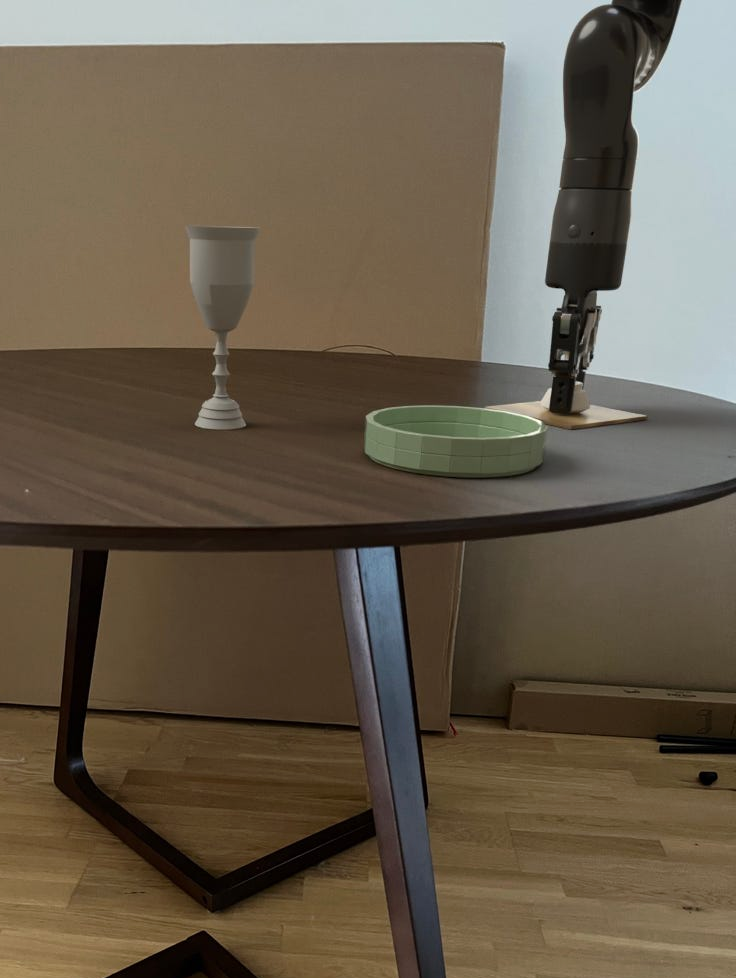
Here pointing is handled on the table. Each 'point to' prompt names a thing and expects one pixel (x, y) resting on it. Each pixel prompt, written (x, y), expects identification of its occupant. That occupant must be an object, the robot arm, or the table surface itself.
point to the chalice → (221, 303)
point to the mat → (571, 415)
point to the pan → (455, 441)
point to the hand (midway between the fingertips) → (565, 408)
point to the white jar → (579, 399)
